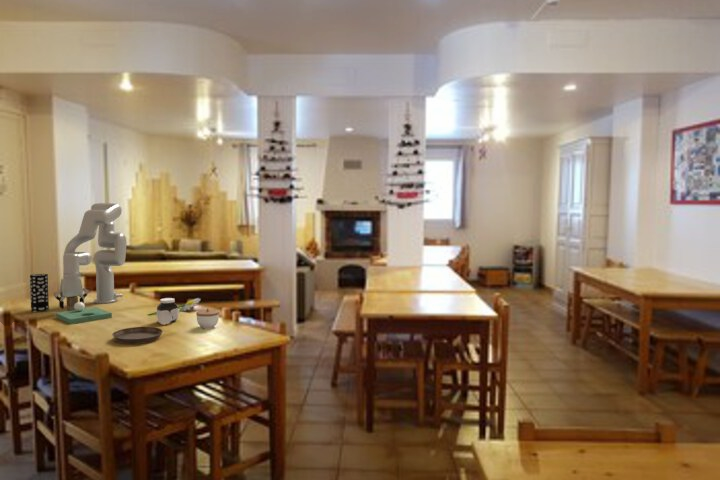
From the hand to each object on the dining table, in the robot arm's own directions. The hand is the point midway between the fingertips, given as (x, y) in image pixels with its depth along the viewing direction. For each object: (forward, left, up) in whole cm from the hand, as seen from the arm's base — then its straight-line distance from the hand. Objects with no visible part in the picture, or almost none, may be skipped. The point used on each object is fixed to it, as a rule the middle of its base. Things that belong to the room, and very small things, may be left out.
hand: (71, 307), depth 268 cm
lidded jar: (-34, +79, -4) cm, 86 cm away
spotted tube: (+10, -19, -4) cm, 22 cm away
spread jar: (-25, +56, -4) cm, 61 cm away
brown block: (0, 0, -3) cm, 3 cm away
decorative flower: (-40, +36, -4) cm, 54 cm away
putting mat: (0, +16, -3) cm, 16 cm away
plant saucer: (-1, +75, -4) cm, 75 cm away
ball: (0, +10, +2) cm, 10 cm away
